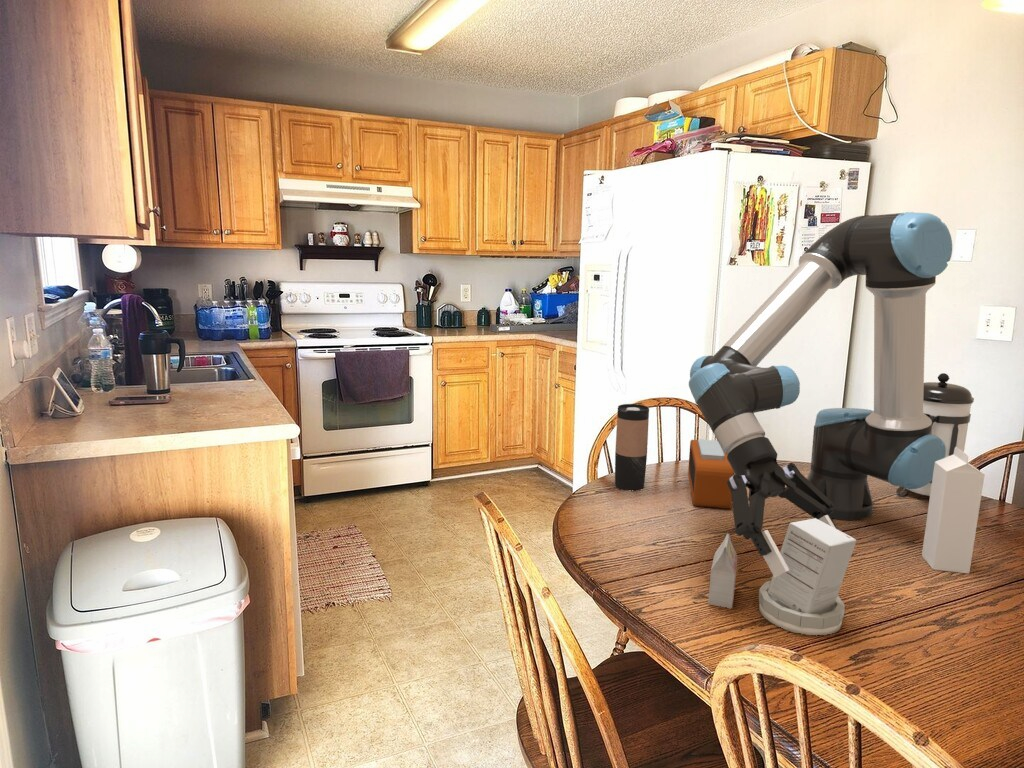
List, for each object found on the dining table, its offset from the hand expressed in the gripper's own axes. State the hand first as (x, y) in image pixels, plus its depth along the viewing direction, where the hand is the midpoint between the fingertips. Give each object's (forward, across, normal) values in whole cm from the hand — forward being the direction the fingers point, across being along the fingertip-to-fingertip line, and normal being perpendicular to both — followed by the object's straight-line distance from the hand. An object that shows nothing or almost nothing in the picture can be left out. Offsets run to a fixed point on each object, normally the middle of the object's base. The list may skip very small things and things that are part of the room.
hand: (813, 565), depth 102 cm
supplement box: (+4, 0, -6) cm, 7 cm away
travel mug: (-37, -12, -50) cm, 64 cm away
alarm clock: (-29, -28, -43) cm, 59 cm away
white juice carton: (-1, +7, -14) cm, 16 cm away
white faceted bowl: (+5, 0, -7) cm, 9 cm away
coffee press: (-11, -74, -25) cm, 78 cm away
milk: (+5, -40, -8) cm, 41 cm away
